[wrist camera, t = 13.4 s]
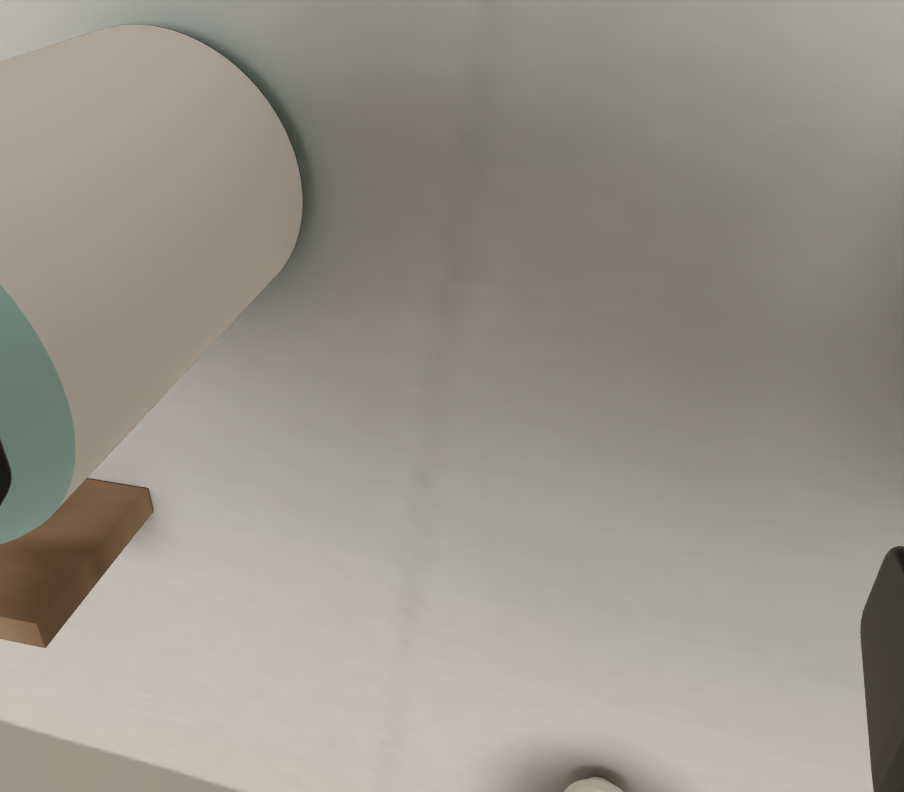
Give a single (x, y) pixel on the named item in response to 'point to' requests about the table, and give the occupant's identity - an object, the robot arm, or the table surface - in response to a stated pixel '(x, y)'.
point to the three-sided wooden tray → (65, 558)
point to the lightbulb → (592, 786)
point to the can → (123, 240)
